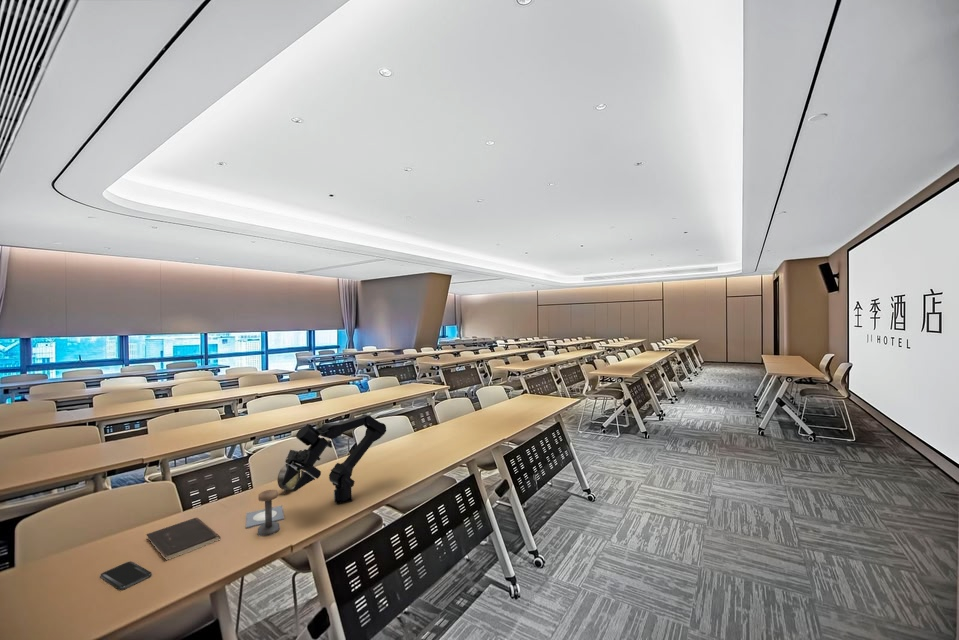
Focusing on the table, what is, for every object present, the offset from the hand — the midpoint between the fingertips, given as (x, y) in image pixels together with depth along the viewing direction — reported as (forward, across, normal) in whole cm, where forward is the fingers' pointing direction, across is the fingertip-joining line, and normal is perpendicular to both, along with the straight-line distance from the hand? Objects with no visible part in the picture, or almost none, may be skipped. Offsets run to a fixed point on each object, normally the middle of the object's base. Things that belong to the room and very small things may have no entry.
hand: (288, 487), depth 153 cm
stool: (+15, 0, +4) cm, 15 cm away
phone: (+43, -8, -23) cm, 49 cm away
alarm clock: (0, -30, +20) cm, 36 cm away
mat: (+12, -12, +7) cm, 19 cm away
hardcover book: (+30, -19, -10) cm, 38 cm away
